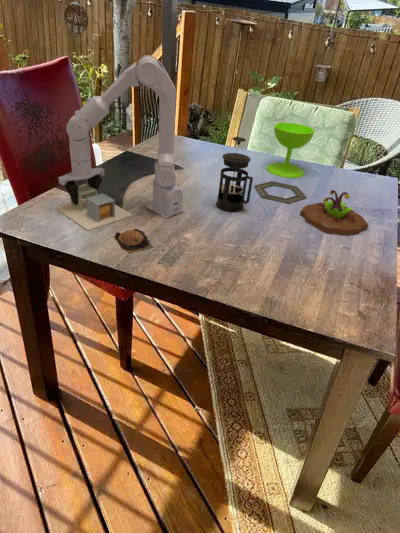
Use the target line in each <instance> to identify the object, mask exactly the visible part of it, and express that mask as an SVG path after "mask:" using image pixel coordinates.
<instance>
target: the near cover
mask: <svg viewBox="0 0 400 533" xmlns="http://www.w3.org/2000/svg"><path fill="white" fill-rule="evenodd" d="M85 199H86V203H87V215H89V216H90V217H92V218H93V219H95V220H96V221H98V222H100V211H99V206H101V205H104V204H108V203H109V204H110V210H111V216H113V217H115V205H116V203H115V202H116V201H115V199H113V198H112V197H109V196H108V195H107V194H105V193H99V194H98V193H97V195H95V196H91V197H88V198H86V197H85Z"/></svg>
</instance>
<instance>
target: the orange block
mask: <svg viewBox="0 0 400 533" xmlns="http://www.w3.org/2000/svg"><path fill="white" fill-rule="evenodd" d="M99 211H100V220H101V219H104V218H107V217H110V216H111V210H110V204H109V203H108V204H104V205H101V206H99Z"/></svg>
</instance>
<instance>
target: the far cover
mask: <svg viewBox="0 0 400 533" xmlns="http://www.w3.org/2000/svg"><path fill="white" fill-rule="evenodd" d="M78 186H79V187H78V205H75V204H73V203H72V200H71V197H70V196H69V197H70V203H71V204H72V205H73V206H75V207H76V208H78V209H79V210H81V211H83V205H82V200H83V196H85V199H86V198H88V197H91V196H95V195H98V191H97V190H96V189H94V188H93V187H91V186H89V184H88V183H83V184H81V185H79V184H78Z"/></svg>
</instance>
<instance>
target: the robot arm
mask: <svg viewBox="0 0 400 533" xmlns="http://www.w3.org/2000/svg"><path fill="white" fill-rule="evenodd" d="M140 83H141V84H142V85H144V86H145V87H147V88H149V89H152V91H153V92H154V93H155V94H156V95H157V96H158V97H159V106H158V107H159V110H158V111H159V112H158V113H159V114H158V148H157V150H158V152H157V159H156V161H155V163H154V178H153V180H152V203H151V204H148V205H146V208H147V209H149V210H150V211H153V212H154V213H156V214H158V215H159V216H162V217H163V218H169V217H173V216H175V215H177V214H181V213H183V212H184V211H185V210H184V209H183V198H184V197H183V196H184V195H183V191H182V190H181V189H180V188H179V187H178V185H177V174H176V171H175V163H174V146H175V126H176V125H175V124H176V109H177V108H176V107H177V106H176V105H177V103H176V101H177V90H176V86H175V84H174V82H173V81H172V79H171V77H170V75H169V74H168V72H167V70H166V68H165V66H164V65H163V63H162V62H161V61H160V60H159V59H157V58H156V57H155V56H154V55H150V54H145V55H143V56H141V57H140V58H139V59H138V61H136V62H134V63H132V64H131V65H130V66H129V67H128V68H126V69H125V70H124V71H123V72H122V73H121V74H120V75H119V76H118V77H117V78H116V79H115V81H114V82H112V84H111V85H110V86H109V87H108V88H107V89H106V90H105V92H103V93H102V94H101V95H93V96H92V97H90V96H88V98H86V100H85V102H86V103H85V104H84V105H83V106H82V107H81V108H79V110H76V111H74V113H73V115H72V116H71V117H70V119H69V120H68V122H67V124H66V128H65V129H66V133H67V135H68V139H69V155H70V164H71V171H70V172H68V173H66V174H64V175H61V176H58V177H57V178H58V184H59V185H61V186H64V188H65V189H66V191H67V192H68V194H69V197H71V198H70V201H71V200H72V203H73V204H75V205H78V187H79V185H77V183H76V182H78V181H82V180H86V181H87V185H89V186H91V187H93V188H94V189H96V190H97V192H98V191H99V187H100V185H101V184H102V183H103V177H104V176H105V168H102V167H97V168H94V167H93V168H92V157H91V156H92V155H91V154H92V153H91V144H90V134H89V131H90V130H91V129H94V128H95V127H96V126H97V125H98V124H99V123H100V122H101V121H102V120H104V118H105V117H106V116H107V115H108V114H109V113H110V106H111V104H113V103H114V102H115V101H116V100H117V99H118V98H119V97H120V96H122V94H124V93H125V92H126V91H127V90H128V89H129V88H131V87H133V88H134V87H140V86H141V84H140ZM101 176H102V177H101Z"/></svg>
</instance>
